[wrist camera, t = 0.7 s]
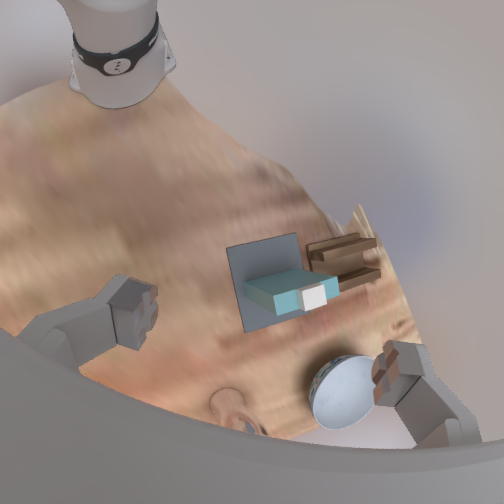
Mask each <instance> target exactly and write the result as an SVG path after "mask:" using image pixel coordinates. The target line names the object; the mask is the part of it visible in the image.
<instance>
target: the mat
mask: <svg viewBox="0 0 504 504" xmlns="http://www.w3.org/2000/svg"><path fill="white" fill-rule="evenodd" d="M226 250H227V255H228V260H229V264H230V269H231V274H232V278H233V283H234V287H235V292H236V296H237V301H238V305H239V310H240V314H241V318H242V323H243V327H244V331H245V333H248V332H251V331H254V330H258V329H261V328H264V327H267V326H271V325H274V324H277V323H280V322H283V321H286V320H289V319H292V318H295V317H299V316H302V315H305V314H307V313H310V310H308V311H303V310H301V309H297V310H294V311H291V312H288V313H284V314H281V315H278V316H277V315H275V314H273V313H272V312H270V311H268V310H267V309H265V308H263V307H262V306H260V305H258V304H257V303H255V302H254V301H252V300H250V299H249V298H247V296H246V291H245V287H244V282H246V281H250V280H254V279H258V278H262V277H265V276H269V275H273V274H277V273H280V272H284V271H288V270H292V269H299V270H303V266H302V261H301V255H300V250H299V245H298V239H297V234H296V233H292V234H288V235H283V236H279V237H274V238H270V239H266V240H261V241H257V242H252V243H248V244H243V245H239V246H235V247H230V248H226Z"/></svg>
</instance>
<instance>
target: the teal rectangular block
mask: <svg viewBox="0 0 504 504" xmlns="http://www.w3.org/2000/svg"><path fill="white" fill-rule="evenodd" d="M244 287H245V291H246V296H247V298H249V299H250V300H252V301H254V302H255V303H257V304H258V305H260V306H262V307H263V308H265V309H267V310H268V311H270V312H272V313H273V314H275V315H277V316H278V315H281V314H284V313H288V312H291V311H294V310H297V309H301V310H303V311H308V310H311V309H314V308H317V307H320V306H323V305H326V304H327V301H326V300H327V299H330V298H333V297H336V296H339V295H340V292H339V285H338V279H337V276H331V275H326V274H321V273H315V272H310V271H305V270H299V269H292V270H288V271H284V272H280V273H277V274H273V275H269V276H265V277H262V278H258V279H254V280H250V281H246V282H244Z"/></svg>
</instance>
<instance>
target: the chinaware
mask: <svg viewBox="0 0 504 504" xmlns="http://www.w3.org/2000/svg"><path fill="white" fill-rule="evenodd" d="M374 361H375V360H374V359H373V358H371V357H368V356H364V355H344V356H341V357H338V358H335V359H333V360H331V361H330V362H328V363H327V364H325V365H324V366H323V367H322V368H321V369H320V370H319V371H318V373H317V374H316V376H315V377H314V379H313V381H312V384H311V387H310V391H309V404H310V408H311V412H312V414H313V416H314V418H315V420H316V421H317V423H318V424H319V425H320V426H322V427H324V428H326V429H329V430H340V429H345V428H348V427H350V426H352V425H354V424H356V423H357V422H359V421H360V420H361V419H363V418H364V417H365V416H366V415H367V414H368V413H369V412H370V411H371V409H372V408H373V407H374V405H375V404H374V395H373V389H374V388H375V387H376V385H375V384H374V382H373V381H372V378H371V370H372V366H373V362H374Z"/></svg>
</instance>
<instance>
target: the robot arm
mask: <svg viewBox="0 0 504 504" xmlns="http://www.w3.org/2000/svg"><path fill="white" fill-rule="evenodd" d="M57 1H58V2H59V3H60V4H61V5H62V6H63V8H64V9H65V11H66V14H67V16H68V18H69V21H70V23H71V26H72V29H73V31H74V32H73V41H74V48H75V49H73V50H72V56H73V59H72V60H71V65H72V69H73V70H72V74H71V78H70V83H69V85H70V88H71V89H72V90H73V91H76V92H79V93H82V94H84V95H85V96H86V97H87V98H88V99H89V100H90V101H91V102H92V103H94V104H96V105H98V106H101V107H104V108H123V107H128V106H131V105H134V104H136V103H138V102H140V101H142V100H143V99H145V98H146V97H148V96H149V95H150V94H151V93H152V92H153V91H154V90H155V89H156V88H157V86H158V85H159V83H160V81H161V80H162V78H163V77H164V76H165V75H167V74H168V73H170V72H171V71H172V70H173V69H174V68H175V67H176V61H175V58H174V56H173V53H172V51H171V49H170V46H169V44H168V41H167V39H166V37H165V34H164V32H163V30H162V27H161V25H160V22H159V17H158V13H157V11H156V9H157V0H57ZM167 59H169V60H167ZM157 296H158V288H157V286H156V285H153V284H150V283H147V282H144V281H141V280H138V279H135V278H132V277H128V276H125V275H122V274H117V275H115V276H114V277H113V278H112V279H111V280H110V282H109V283H108V284H107V285H106V286H105V287H104V288H103V289H102V290H101V291H100V292H99V293H98V294H97V296H96V297H95V298H94V299H93V298H88V299H85V300H82V301H79V302H76V303H73V304H70V305H67V306H64V307H62V308H59V309H56V310H53V311H50V312H47V313H44V314H41V315H38V316H36V317H35V318H34V319H33V320H32V321H31V322H30V323H29V324H28V325H27V326H26V327H25V328H24V329H23V331H22V332H21V333H20V334H19V335H18V336H17V337H14V336H13V335H11V334H9V333H8V332H6V331H5V330H3V329H2V328H1V327H0V504H504V439H501V440H495V441H490V442H483V443H482V439H481V436H480V431H479V428H478V424H477V420H476V417H475V416H474V415H473V414H472V413H471V412H470V410H469V409H468V408H467V407H466V406H465V405H464V404H463V403H462V402H461V400H459V398H458V397H457V396H456V395H455V394H454V393H453V392H452V391H451V390H450V389H449V388H448V386H447V385H446V384H445V383H444V382H443V381H442V380H441V379H440V378H436V375H435V372H434V369H433V365H432V362H431V359H430V356H429V353H428V350H427V347H426V346H425V345H424V344H416V343H407V342H401V341H394V340H388V341H387V342H386V343H385V345H384V346H383V351H384V352H383V353H381V354H380V355H378V356H377V357H376V359H375V361H374V362H373V366H372V370H371V378H372V381H373V382H374V384H375V385H376V387H375V388H374V389H373V395H374V404H375V405H379V406H388V407H395V410H396V412H397V413H398V415H399V416H400V418H401V420H402V421H403V423H404V424H405V426H406V427H407V429H408V431H409V432H410V434H411V435H412V437H413V439H414V440H415V442H416V444H417V445H416V446H415V447H414V448H412V449H371V448H352V447H339V446H328V445H319V444H310V443H303V442H296V441H290V440H283V439H278V438H272V437H267V436H262V435H257V434H252V433H247V432H243V431H238V430H234V429H230V428H226V427H222V426H218V425H214V424H211V423H207V422H204V421H200V420H197V419H193V418H190V417H187V416H183V415H180V414H177V413H174V412H171V411H168V410H165V409H162V408H160V407H157V406H154V405H151V404H148V403H146V402H143V401H141V400H138V399H135V398H133V397H130V396H128V395H125V394H123V393H121V392H118V391H116V390H114V389H111V388H109V387H107V386H104V385H102V384H100V383H98V382H96V381H93V380H91V379H89V378H87V377H85V376H83V375H81V373H80V371H79V368H78V367H79V366H81V365H83V364H84V363H86V362H88V361H90V360H92V359H93V358H95V357H97V356H99V355H100V354H102V353H104V352H106V351H107V350H109V349H111V348H113V347H114V346H116V345H117V344H119V345H122V346H125V347H128V348H130V349H133V350H136V351H139V349H140V348H141V346H142V344H143V343H144V341H145V340H146V332H147V331H150V330H152V328H153V326H154V325H155V322H156V319H157V316H158V304H157V302H156V301H155V299H156V297H157Z"/></svg>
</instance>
